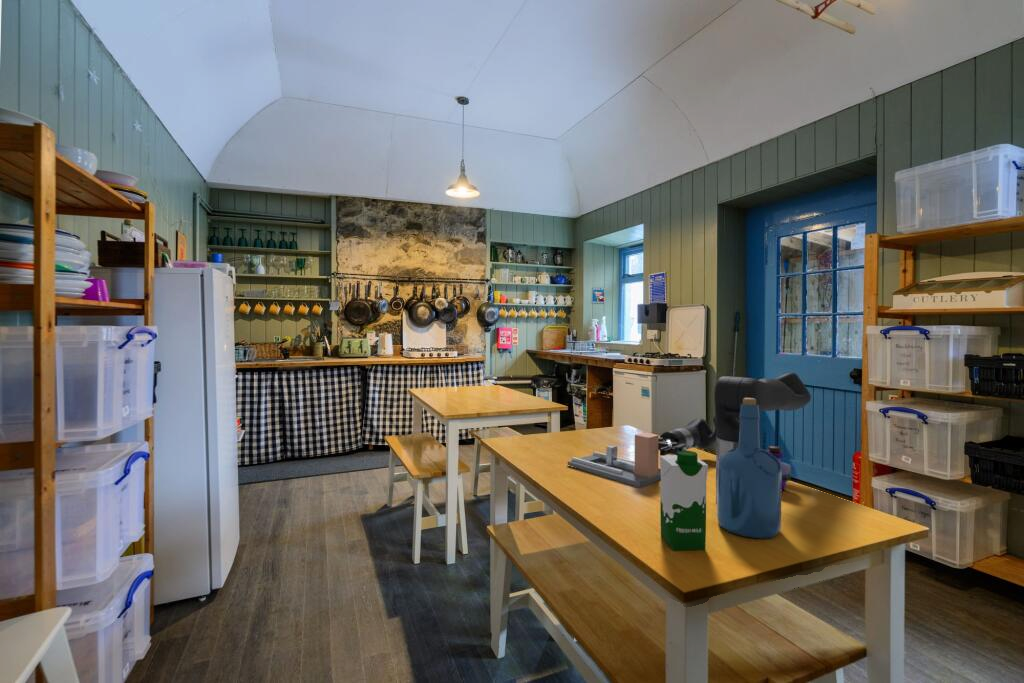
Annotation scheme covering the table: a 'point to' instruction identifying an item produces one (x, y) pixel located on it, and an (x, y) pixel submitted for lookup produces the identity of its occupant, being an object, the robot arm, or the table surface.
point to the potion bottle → (784, 467)
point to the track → (611, 470)
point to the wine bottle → (749, 482)
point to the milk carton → (683, 501)
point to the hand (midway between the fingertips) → (648, 449)
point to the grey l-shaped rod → (612, 459)
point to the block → (646, 454)
